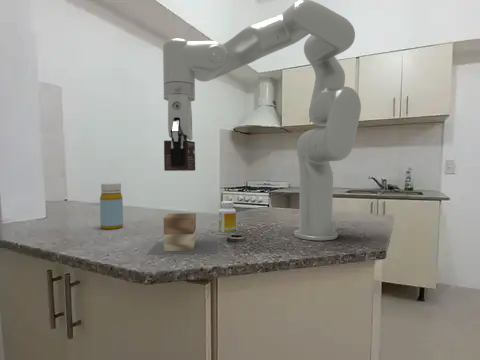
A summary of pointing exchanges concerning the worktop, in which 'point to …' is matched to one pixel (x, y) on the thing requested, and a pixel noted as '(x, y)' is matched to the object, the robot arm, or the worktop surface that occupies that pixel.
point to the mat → (200, 248)
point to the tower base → (180, 242)
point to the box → (189, 157)
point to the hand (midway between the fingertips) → (180, 165)
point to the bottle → (111, 206)
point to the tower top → (179, 223)
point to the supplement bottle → (227, 217)
